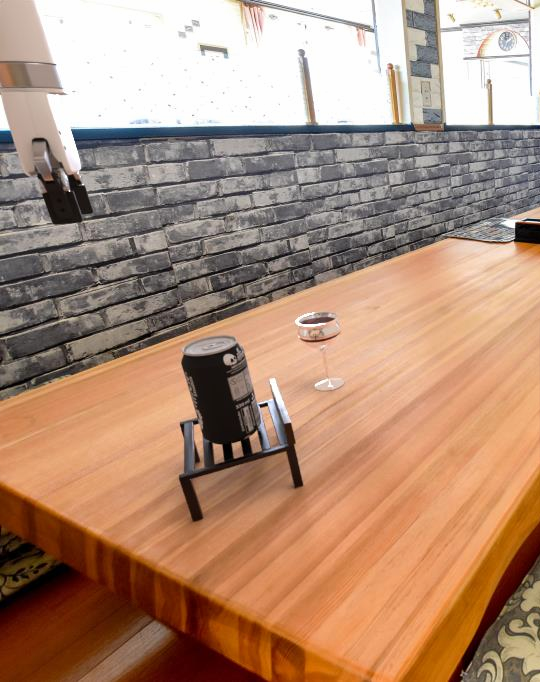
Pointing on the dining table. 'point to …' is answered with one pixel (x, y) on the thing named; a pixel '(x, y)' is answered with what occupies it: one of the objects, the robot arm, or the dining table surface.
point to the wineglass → (321, 340)
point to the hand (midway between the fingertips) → (75, 218)
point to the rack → (283, 435)
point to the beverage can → (221, 389)
